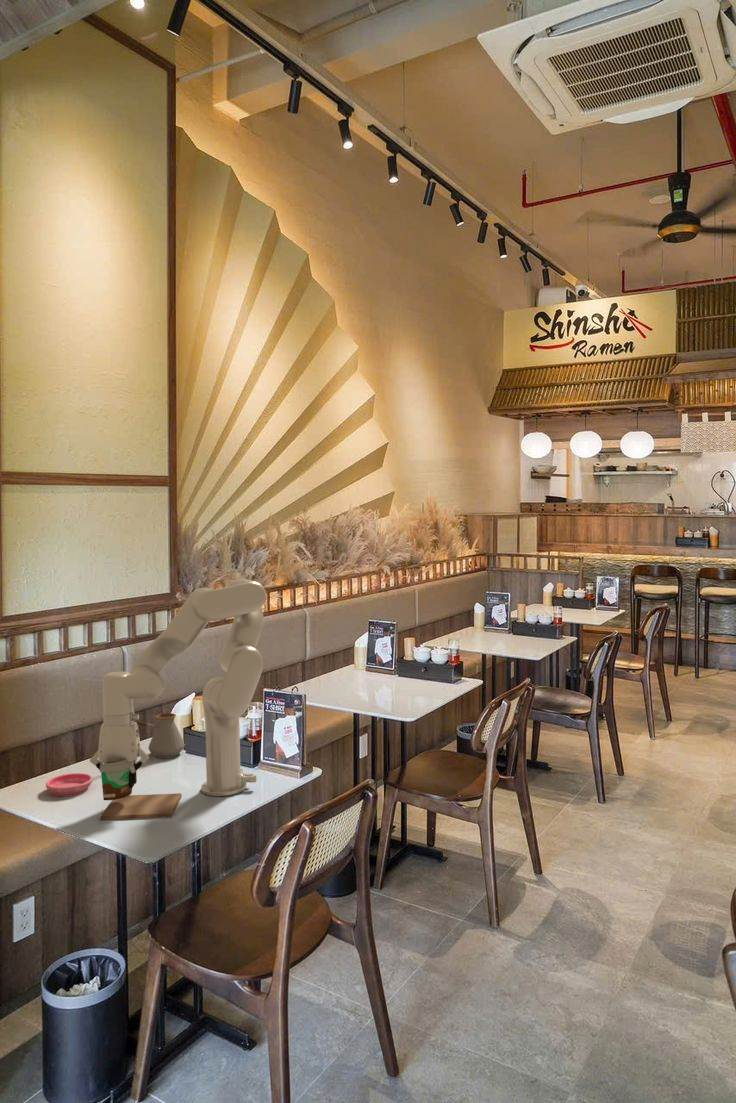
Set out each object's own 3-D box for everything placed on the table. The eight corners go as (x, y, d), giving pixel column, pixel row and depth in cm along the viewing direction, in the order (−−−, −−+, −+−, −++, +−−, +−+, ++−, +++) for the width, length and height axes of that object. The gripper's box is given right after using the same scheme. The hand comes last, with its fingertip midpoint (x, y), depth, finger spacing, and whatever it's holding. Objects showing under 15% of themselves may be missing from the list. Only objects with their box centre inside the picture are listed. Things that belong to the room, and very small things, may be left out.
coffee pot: (172, 746, 254) (170, 702, 253) (192, 753, 246) (190, 708, 246) (113, 763, 238) (112, 716, 238) (133, 771, 231) (131, 722, 230)
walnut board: (181, 796, 208) (181, 793, 208) (171, 817, 195) (171, 813, 194) (115, 799, 207) (114, 795, 207) (100, 820, 193) (100, 816, 193)
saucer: (78, 779, 224) (78, 769, 224) (101, 789, 216) (101, 778, 216) (37, 792, 214) (37, 781, 214) (60, 802, 207) (60, 791, 206)
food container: (122, 803, 194) (121, 765, 193) (100, 802, 195) (99, 764, 194) (144, 786, 206) (143, 750, 205) (124, 785, 207) (122, 749, 206)
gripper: (154, 714, 204) (156, 780, 204) (89, 716, 203) (91, 782, 203) (148, 722, 196) (149, 790, 197) (80, 723, 195) (82, 792, 196)
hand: (120, 786), depth 200 cm, fingers closed on food container, 5 cm apart
